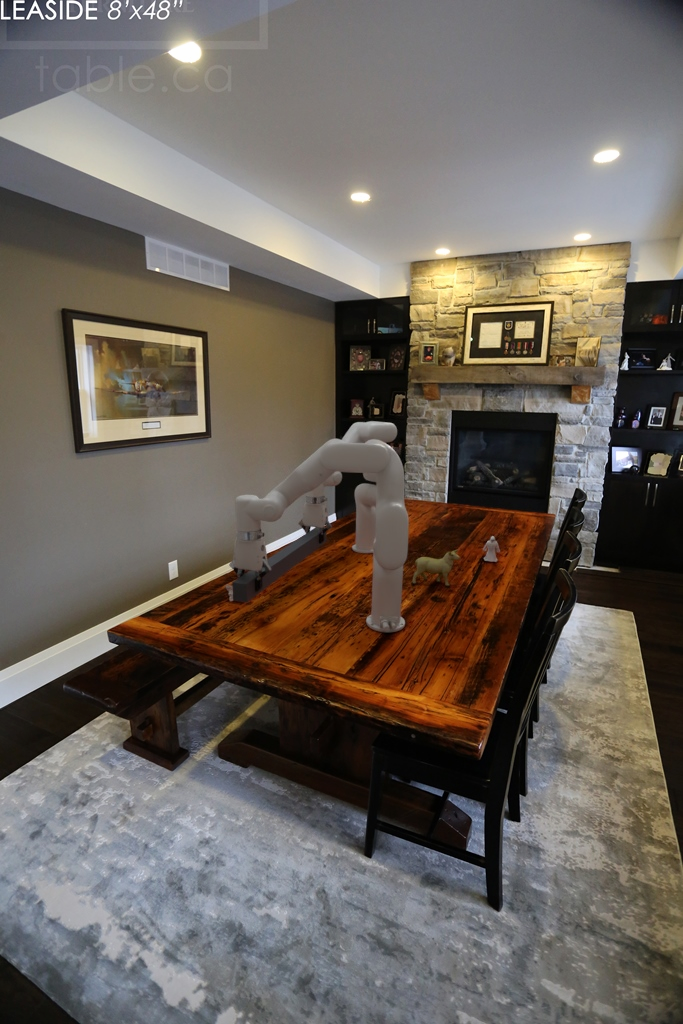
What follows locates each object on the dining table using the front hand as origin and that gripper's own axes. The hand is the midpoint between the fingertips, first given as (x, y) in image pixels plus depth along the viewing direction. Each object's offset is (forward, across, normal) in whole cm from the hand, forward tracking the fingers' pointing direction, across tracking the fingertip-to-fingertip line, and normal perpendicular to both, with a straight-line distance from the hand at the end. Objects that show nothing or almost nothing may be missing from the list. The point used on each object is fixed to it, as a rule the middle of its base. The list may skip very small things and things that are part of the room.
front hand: (250, 588), depth 161 cm
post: (+2, 0, -27) cm, 27 cm away
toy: (+12, -51, -54) cm, 75 cm away
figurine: (+12, -69, -92) cm, 116 cm away
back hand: (0, 0, -54) cm, 54 cm away
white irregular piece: (+11, +14, -12) cm, 22 cm away
